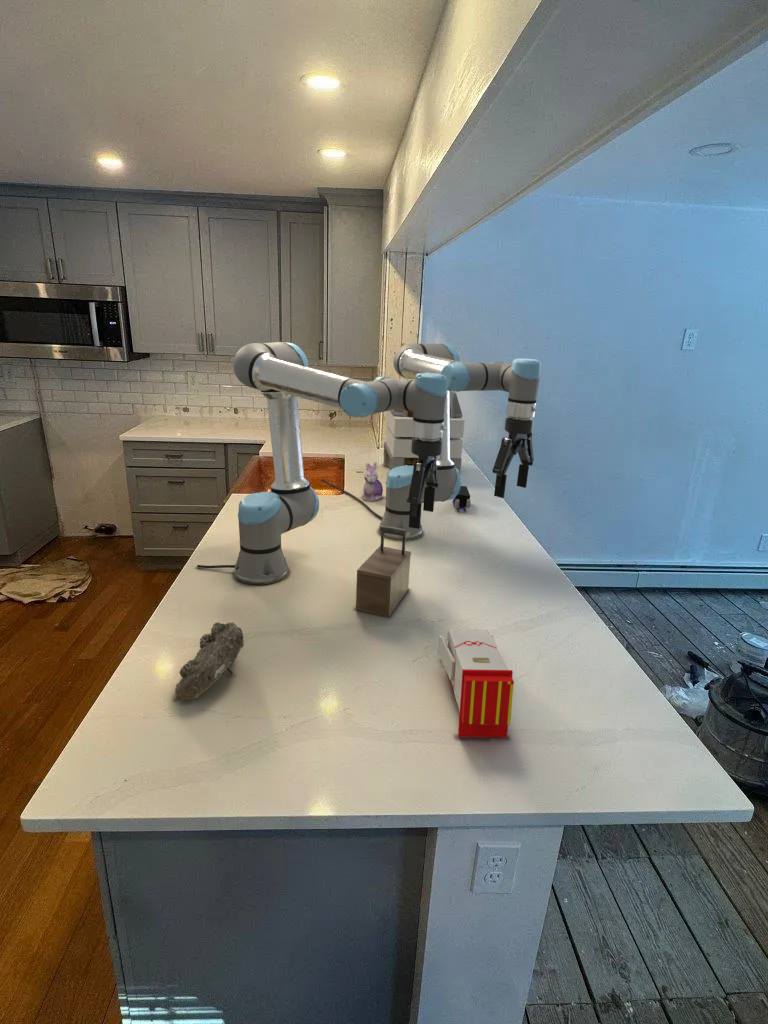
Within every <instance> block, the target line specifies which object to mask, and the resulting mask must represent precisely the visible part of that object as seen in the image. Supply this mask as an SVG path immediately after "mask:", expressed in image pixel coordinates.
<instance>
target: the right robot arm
mask: <svg viewBox="0 0 768 1024" xmlns="http://www.w3.org/2000/svg"><path fill="white" fill-rule="evenodd" d="M541 367H542V363H541V361H540V360H538V359H532V358H514V359H513V360H512V364H511V363H506V362H504V361H490V362H466V361H465V362H464V361H462V360H461V357H460V354H459V351H458V350H457V349H456V347H454V345H451V344H447V343H418V342H417V343H416V342H415V343H414V342H413V343H408V344H405V345H403V346H402V347H400V348H399V349H398V350H397V351H396V352H395V354H394V357H393V369H394V371H395V372H396V373H397V374H398V376H400V377H402V378H404V379H406V380H415V379H416V375H417V374H419V373H436V374H442V375H444V376H445V377H446V380H447V383H446V393H447V395H446V401H445V411H444V424H443V426H445V427H446V429H445V430H443V437H442V438H440V439H441V440H442V452H441V454H440V455H439V456H437V477H438V482H437V483H438V484H439V486H438V488H437V487H434V488H435V497H434V503H437V502H441V503H442V502H446V501H452V500H453V499H454V498H455V497H456V495H457V494H458V493H459V490H460V487H461V486H462V476H461V474H460V472H459V470H458V469H457V468H455V467H454V463H453V462H452V461H451V459H450V391H452V392H453V391H454V392H455V393H459V392H474V391H476V392H477V391H478V392H482V391H484V392H486V391H488V392H489V391H491V392H492V391H501V392H506V393H508V398H507V406H506V410H505V411H506V412H505V415H506V416H507V417H506V418H505V423H504V431H505V432H507V433H508V436H507V437H503V436H502V438H501V443H500V447H499V450H498V453H497V455H496V459H495V462H494V465H493V467H492V471H491V473H493V474H496V476H495V483H494V484H495V485H494V491H493V497H497V498H500V499H504V498H505V492H506V484H507V476H508V475H507V474H506V473H507V471H508V469H509V466H510V465H511V462H512V460H513V458H514V456H516V455H517V454H518V457H519V461H520V463H519V465H518V472H517V479H516V480H517V481H516V487H520V488H523V489H526V488H527V483H528V476H529V469H530V466H531V467H532V466H534V460H535V459H534V457H535V456H534V448H533V431H534V430H533V429H534V423H535V420H534V419H533V418H535V413H536V411H537V410H538V409H537V407H536V406H537V399H538V392H539V386H540V378H541V376H542V375H541V369H542V368H541ZM413 467H414V466H407V465H404V466H399V467H395V468H393V469H391V470H390V469H389V470H388V472H387V475H386V479H385V504H384V505H385V507H384V508H385V509H384V513H383V515H382V516H381V515H380V514H378V513H376V512H375V511H374V510H373V509H371V508H370V507H369V506H368V505H367V504H366V503H365V502H364V501H362V500H361V499H360V498H358V497H357V496H356V495H354V494H352V493H351V492H349V491H347V490H345V489H343V488H341V487H338V486H337V485H334V484H332V483H330V482H329V481H328V480H325V479H323V478H322V479H321V482H323V483H325V484H327V485H328V486H330V487H332V488H335V489H336V490H339V491H340V492H342V493H345V494H346V495H348V496H350V497H352V498H353V499H354V500H356V501H358V502H359V503H360V504H361V505H363V507H365V508H366V509H367V510H368V511H369V512H370V513H372V514H373V515H374V516H375V517H377V518H379V519H380V520H381V522H379V525H378V533H379V534H380V535H381V532H380V527H381V525H384V526H390V527H396V528H402V529H407V535H406V541H410V540H415V539H418V538H420V537H421V536H422V535H423V525H422V524H421V521H420V529H417V528H410V527H409V515H410V503H407V499H408V497H409V491H410V486H411V480H412V475H413ZM459 474H460V475H459ZM425 487H428V486H426V483H425V486H424V490H425ZM424 490H423V494H422V498H421V503H422V504H424ZM414 499H416V498H414ZM384 538H387V539H389V540H395V541H402V539H403V536H398V535H393V534H387V533H384Z"/></svg>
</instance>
